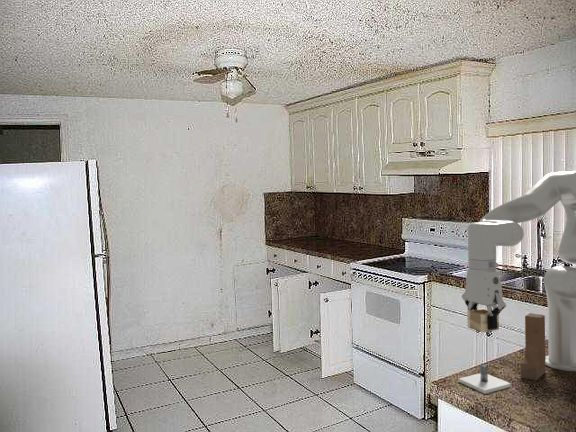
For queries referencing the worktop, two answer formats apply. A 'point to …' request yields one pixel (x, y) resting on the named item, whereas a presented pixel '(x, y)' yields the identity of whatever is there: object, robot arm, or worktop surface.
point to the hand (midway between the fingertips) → (483, 325)
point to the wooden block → (534, 347)
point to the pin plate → (485, 385)
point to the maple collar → (479, 320)
